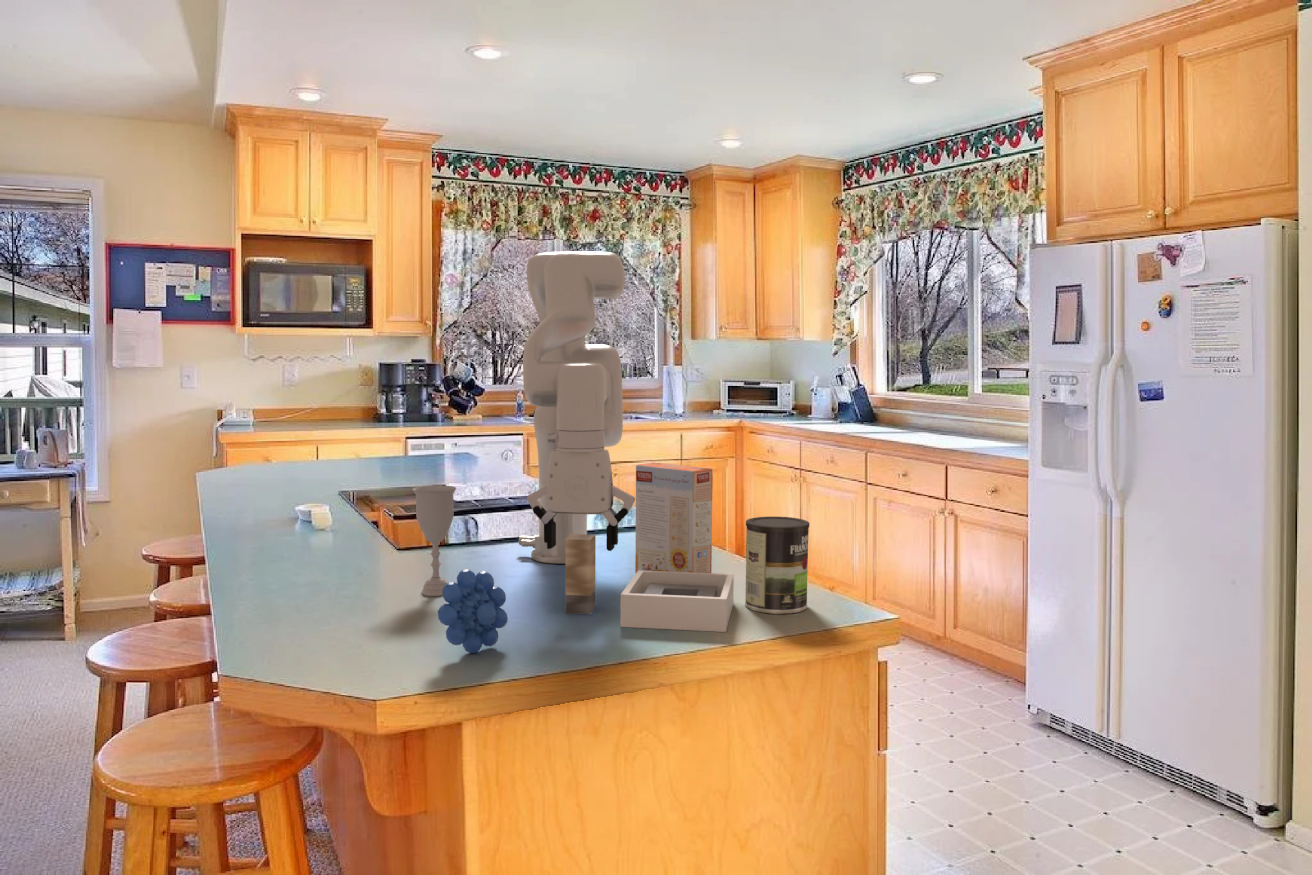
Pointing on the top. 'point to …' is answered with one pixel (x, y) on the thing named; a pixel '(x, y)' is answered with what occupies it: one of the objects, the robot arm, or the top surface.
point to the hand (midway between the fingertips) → (580, 548)
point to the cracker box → (673, 518)
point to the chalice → (434, 527)
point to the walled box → (678, 601)
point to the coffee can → (776, 564)
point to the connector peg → (580, 573)
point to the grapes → (473, 610)
